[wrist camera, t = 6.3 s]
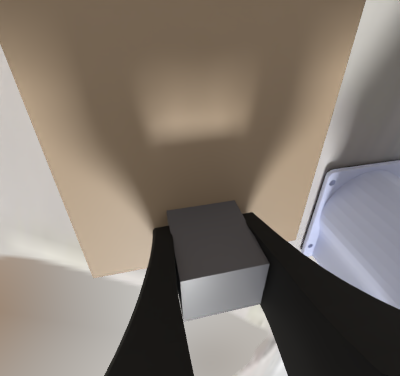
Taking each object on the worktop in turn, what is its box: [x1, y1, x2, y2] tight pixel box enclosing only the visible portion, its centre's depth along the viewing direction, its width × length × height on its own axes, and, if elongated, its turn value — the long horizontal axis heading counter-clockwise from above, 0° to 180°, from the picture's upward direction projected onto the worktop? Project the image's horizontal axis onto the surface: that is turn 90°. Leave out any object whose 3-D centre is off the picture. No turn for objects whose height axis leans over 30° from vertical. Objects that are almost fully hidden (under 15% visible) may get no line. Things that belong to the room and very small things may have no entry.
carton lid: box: [0, 0, 366, 321], centre depth 8 cm, size 14×10×4 cm
